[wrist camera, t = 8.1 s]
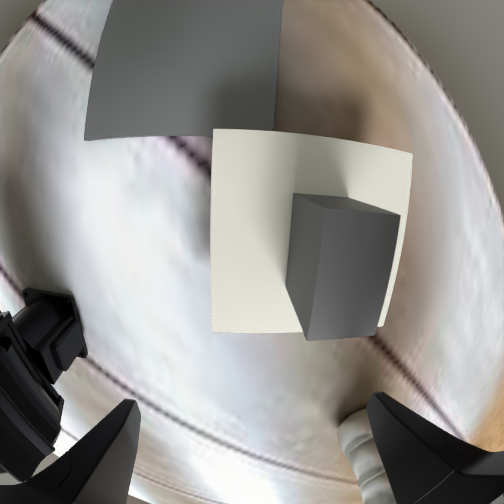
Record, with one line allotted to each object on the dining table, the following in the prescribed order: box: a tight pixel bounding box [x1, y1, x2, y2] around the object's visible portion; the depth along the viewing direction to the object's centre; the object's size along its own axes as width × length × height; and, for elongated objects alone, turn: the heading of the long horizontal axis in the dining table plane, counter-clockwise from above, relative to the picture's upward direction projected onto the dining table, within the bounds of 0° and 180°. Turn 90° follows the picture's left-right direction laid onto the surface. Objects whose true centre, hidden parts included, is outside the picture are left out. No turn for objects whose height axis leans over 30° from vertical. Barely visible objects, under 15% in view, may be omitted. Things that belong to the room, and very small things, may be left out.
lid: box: [210, 129, 413, 341], centre depth 12 cm, size 11×11×6 cm
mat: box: [84, 0, 282, 141], centre depth 14 cm, size 13×13×1 cm
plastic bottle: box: [337, 409, 396, 504], centre depth 16 cm, size 6×7×20 cm
